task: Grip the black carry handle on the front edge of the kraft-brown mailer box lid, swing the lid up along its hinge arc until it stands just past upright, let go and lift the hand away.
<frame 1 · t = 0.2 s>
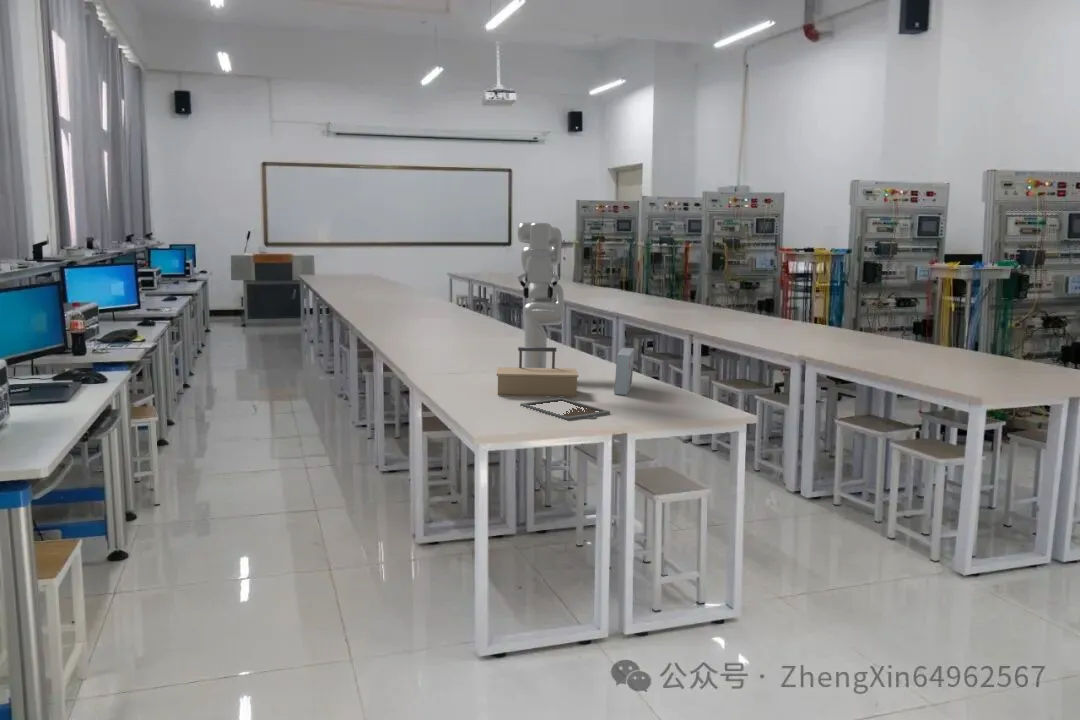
hand: (538, 297, 340), 36 cm above the table, tool pointing down, fingers open, 9 cm apart
skincare box: (623, 390, 342), on the table
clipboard: (566, 413, 302), on the table
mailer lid: (537, 361, 331), point 12 cm above the table, hinge at 0.0°
mailer box: (536, 392, 332), on the table
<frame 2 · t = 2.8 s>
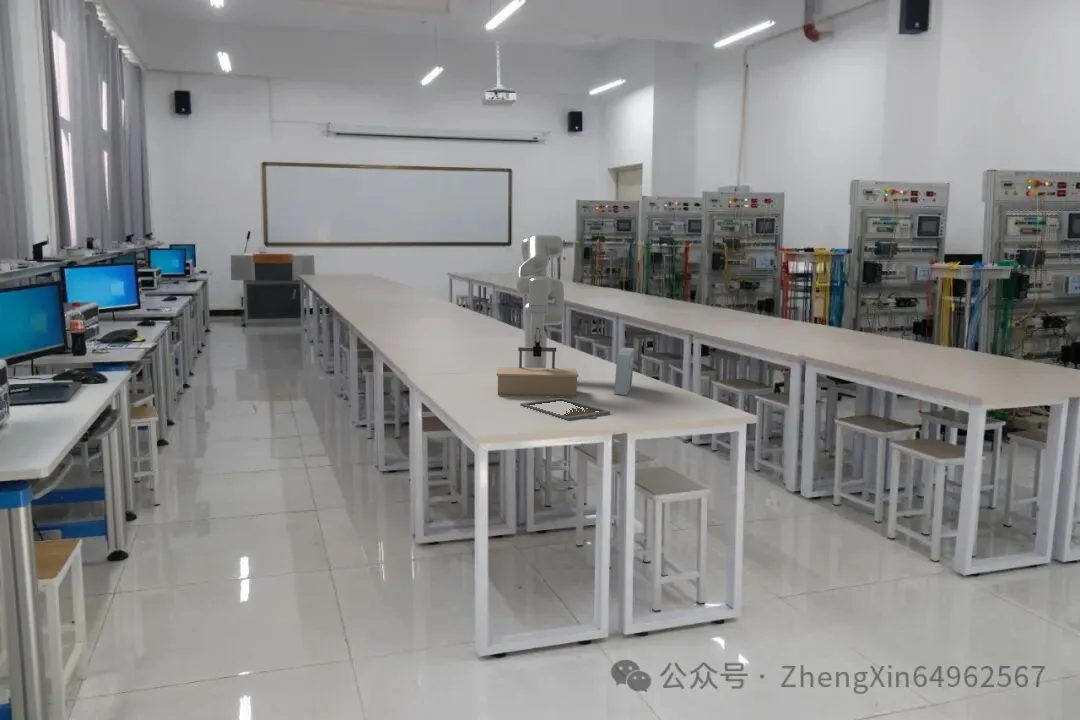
hand: (537, 355, 338), 13 cm above the table, tool pointing down, fingers closed on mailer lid
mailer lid: (537, 361, 331), point 12 cm above the table, hinge at 0.0°, touching gripper
everything else where it was.
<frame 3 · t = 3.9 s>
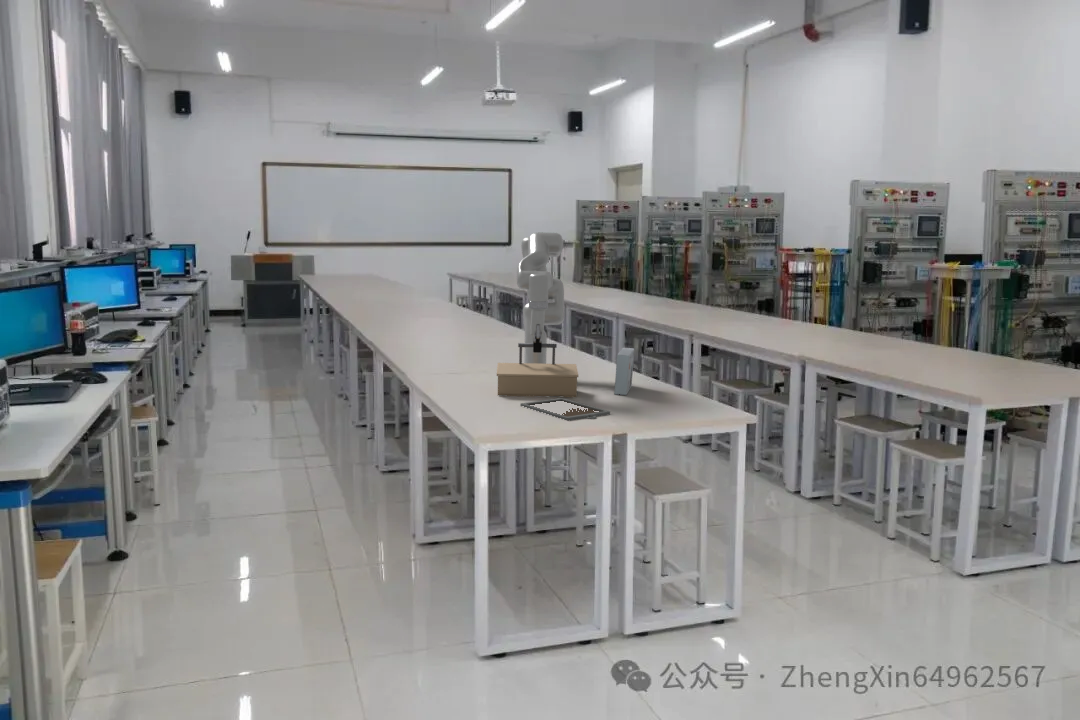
hand: (537, 351, 336), 15 cm above the table, tool pointing down, fingers closed, pressing on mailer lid
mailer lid: (537, 359, 330), point 13 cm above the table, hinge at 7.0°, touching gripper
everything else where it was.
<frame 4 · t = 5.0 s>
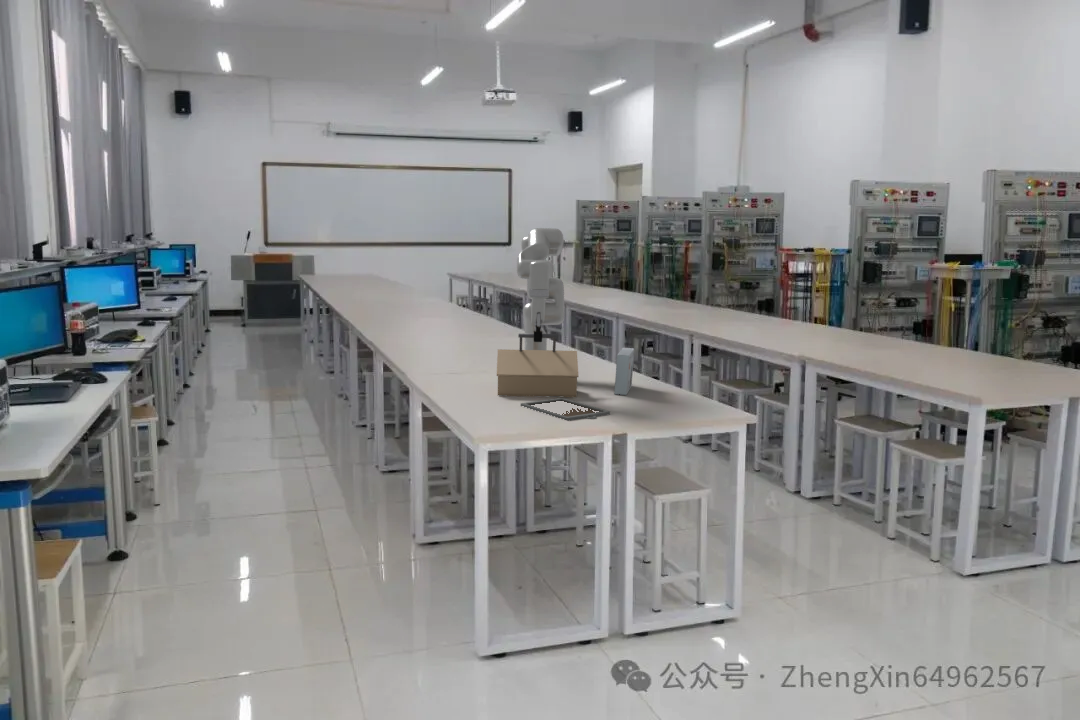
hand: (537, 341, 331), 20 cm above the table, tool pointing down, fingers closed on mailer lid
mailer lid: (537, 354, 327), point 15 cm above the table, hinge at 30.4°, touching gripper
everything else where it was.
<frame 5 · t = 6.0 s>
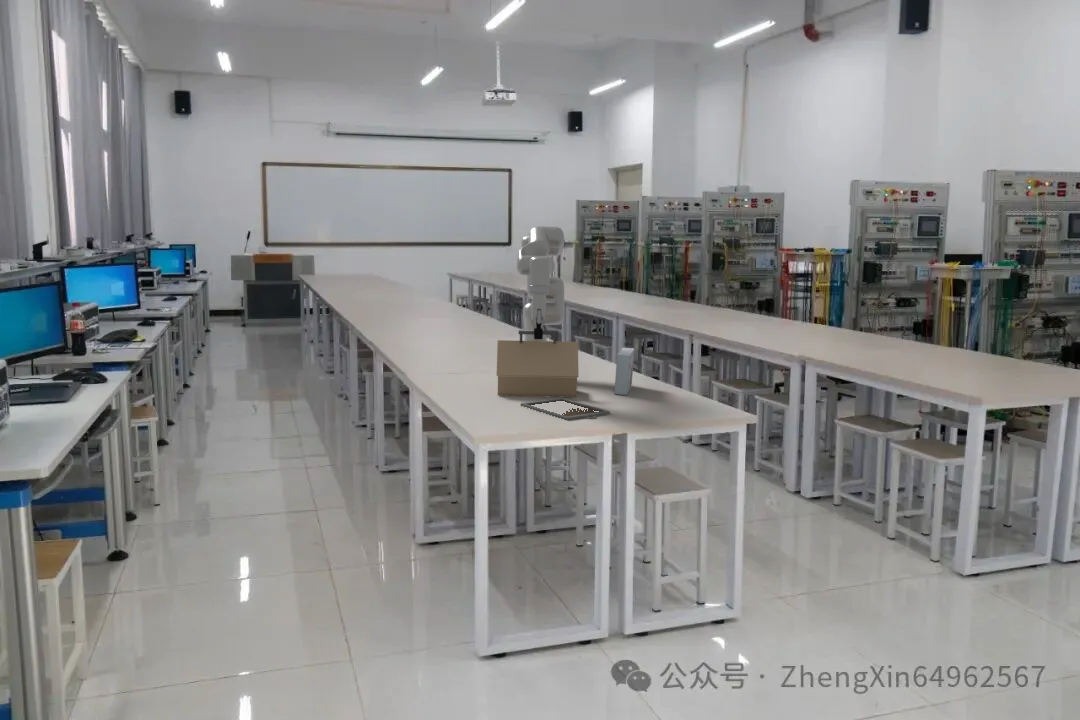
hand: (538, 338, 324), 22 cm above the table, tool pointing down, fingers closed on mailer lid
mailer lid: (538, 353, 324), point 17 cm above the table, hinge at 52.8°, touching gripper
everything else where it was.
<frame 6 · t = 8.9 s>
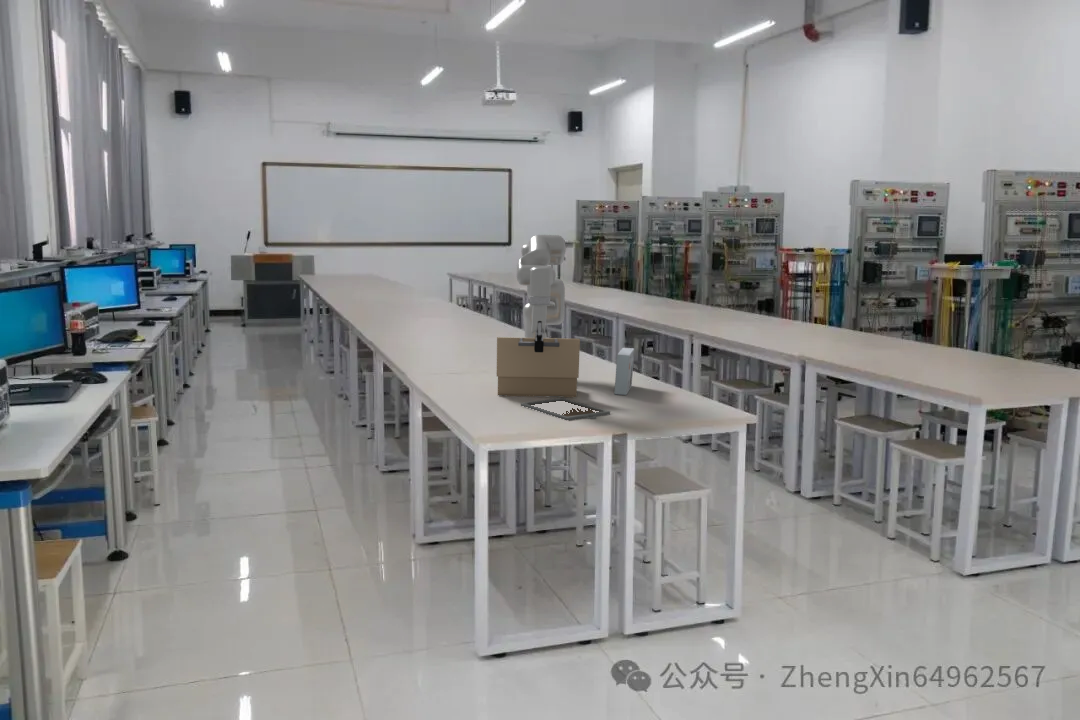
hand: (538, 350, 313), 19 cm above the table, tool pointing down, fingers open, 3 cm apart
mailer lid: (538, 359, 318), point 15 cm above the table, hinge at 94.9°
everything else where it was.
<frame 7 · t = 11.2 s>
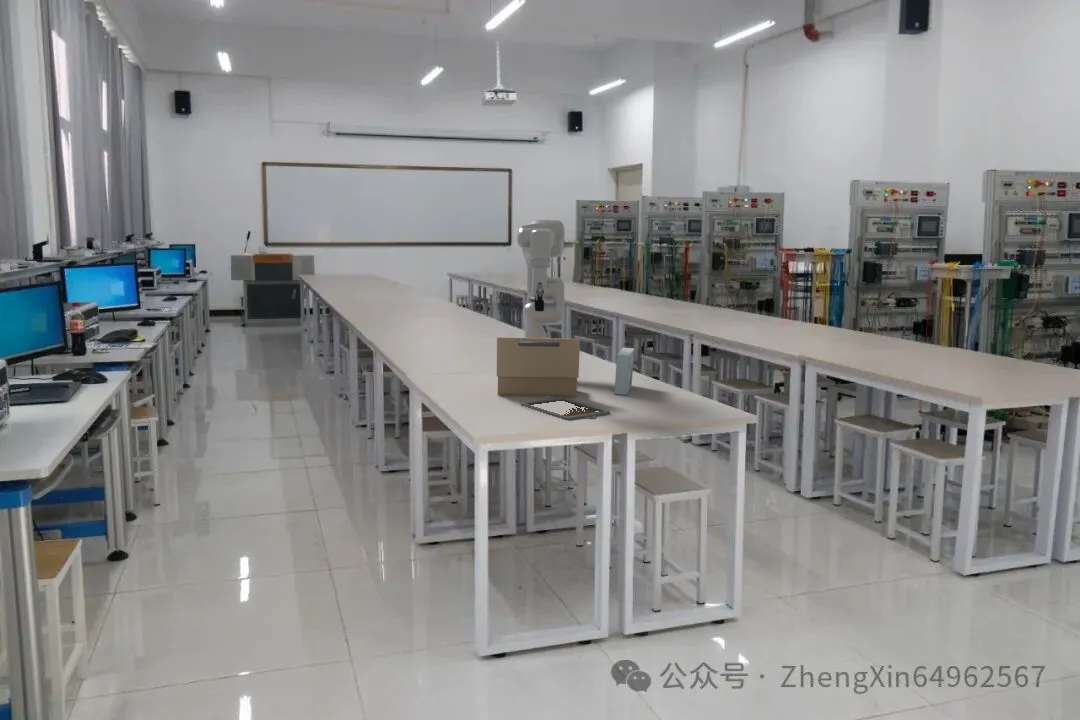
hand: (539, 309, 319), 33 cm above the table, tool pointing down, fingers open, 9 cm apart
nothing on the table moved.
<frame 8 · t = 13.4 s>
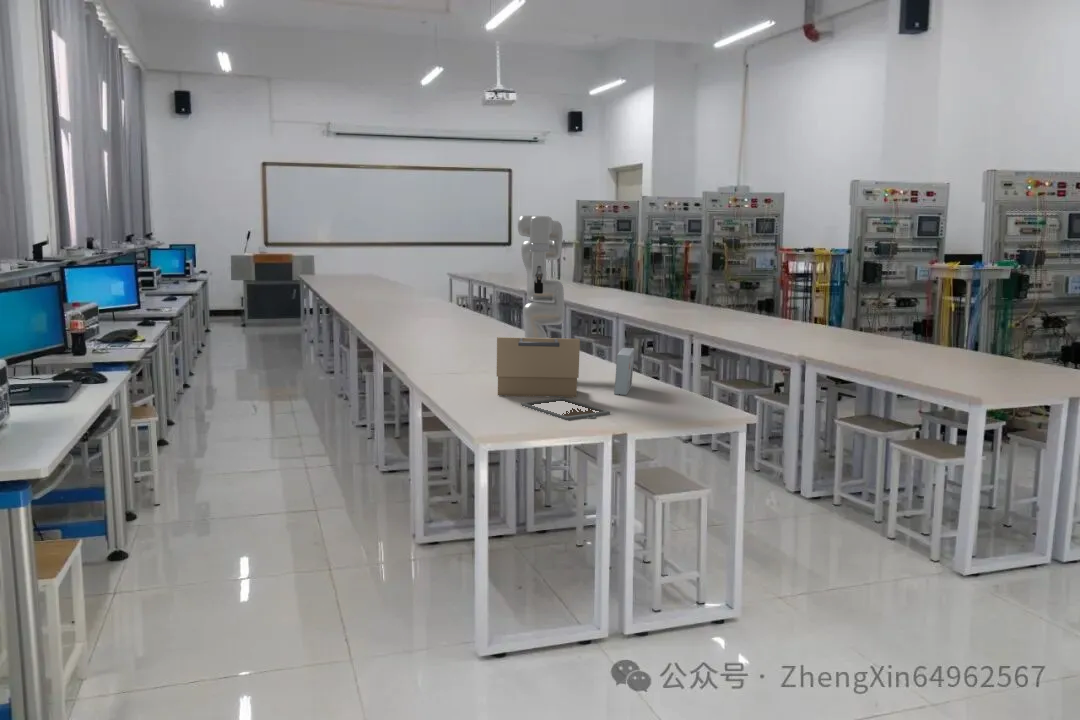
hand: (538, 292, 335), 38 cm above the table, tool pointing down, fingers open, 9 cm apart
nothing on the table moved.
at the end: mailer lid at +95° (first picture: +0°); the gripper is holding nothing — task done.
